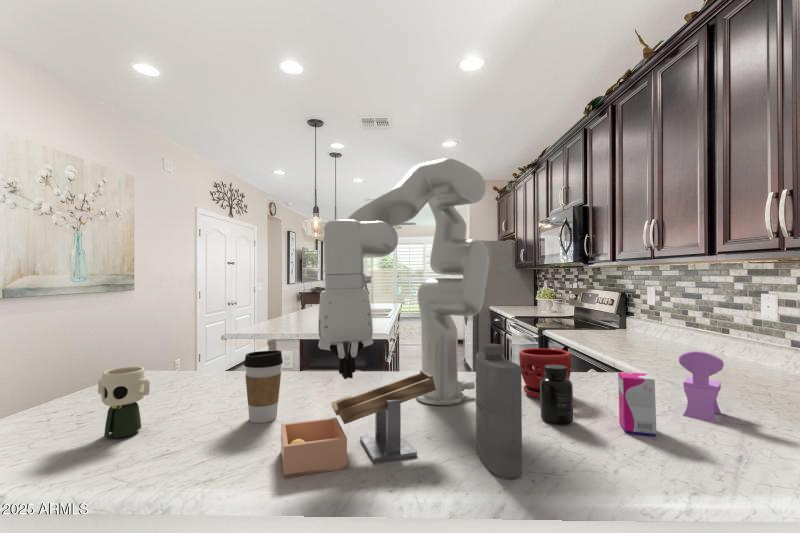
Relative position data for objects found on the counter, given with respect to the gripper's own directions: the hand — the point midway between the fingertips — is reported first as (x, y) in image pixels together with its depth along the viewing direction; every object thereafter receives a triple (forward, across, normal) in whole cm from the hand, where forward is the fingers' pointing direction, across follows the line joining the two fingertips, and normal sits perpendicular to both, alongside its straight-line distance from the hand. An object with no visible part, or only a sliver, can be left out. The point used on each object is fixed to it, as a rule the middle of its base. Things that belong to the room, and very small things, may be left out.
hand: (347, 376), depth 77 cm
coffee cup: (+13, +16, -18) cm, 27 cm away
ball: (+10, +10, +6) cm, 15 cm away
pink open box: (+12, +8, +6) cm, 15 cm away
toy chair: (+15, -81, +13) cm, 83 cm away
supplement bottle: (+14, -46, +5) cm, 48 cm away
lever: (+4, -6, +3) cm, 8 cm away
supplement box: (+14, -58, +15) cm, 62 cm away
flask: (+13, -23, +16) cm, 31 cm away
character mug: (+12, +43, -18) cm, 48 cm away
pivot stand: (+13, -6, +6) cm, 15 cm away
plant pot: (+15, -56, -11) cm, 59 cm away
